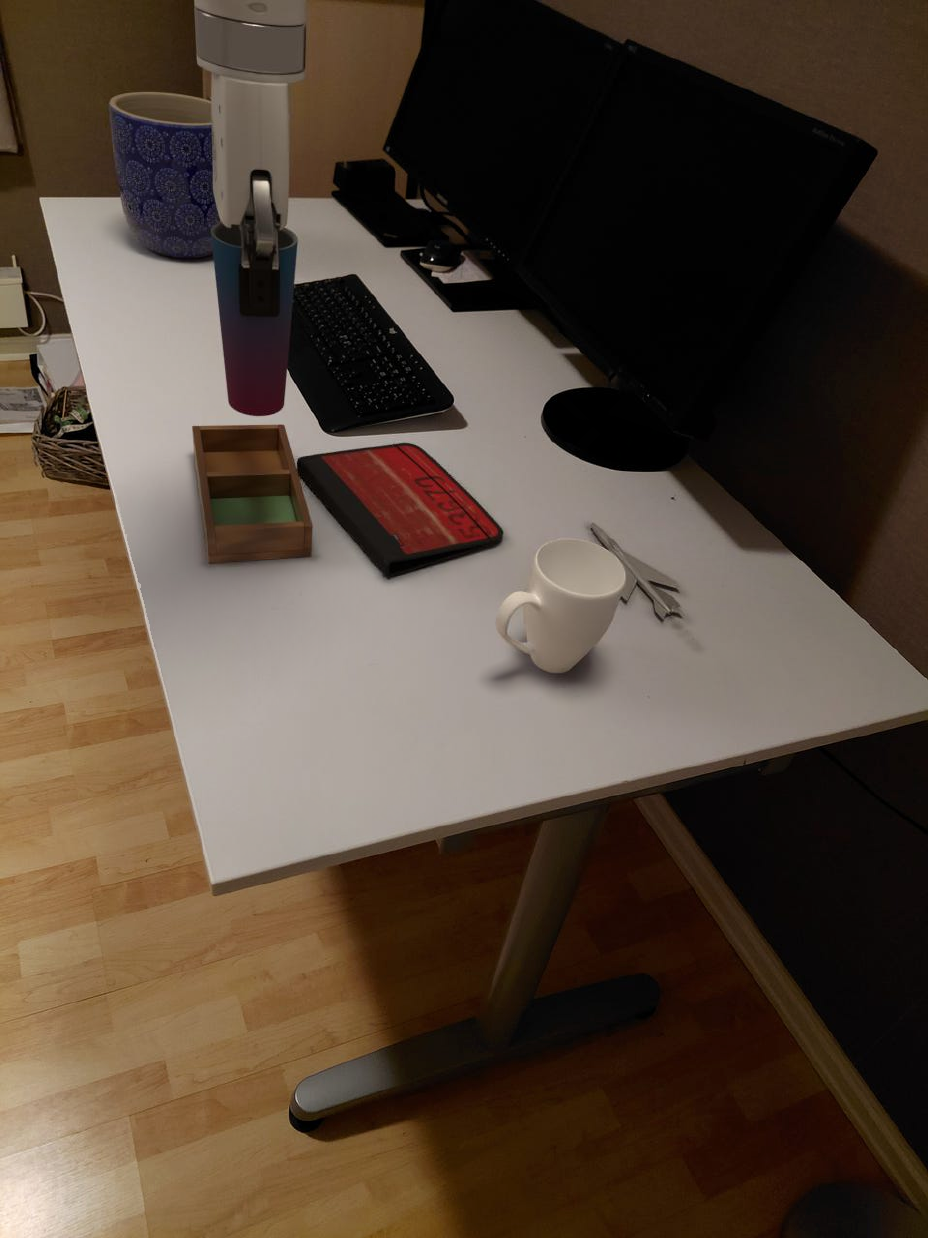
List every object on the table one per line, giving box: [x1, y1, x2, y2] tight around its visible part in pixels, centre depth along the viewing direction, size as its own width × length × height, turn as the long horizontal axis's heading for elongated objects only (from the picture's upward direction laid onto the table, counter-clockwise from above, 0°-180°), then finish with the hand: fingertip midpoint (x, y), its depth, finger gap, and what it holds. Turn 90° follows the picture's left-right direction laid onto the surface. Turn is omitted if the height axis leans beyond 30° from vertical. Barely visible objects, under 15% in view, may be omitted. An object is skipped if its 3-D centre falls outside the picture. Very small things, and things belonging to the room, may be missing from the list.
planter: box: [108, 91, 221, 259], centre depth 135 cm, size 18×18×21 cm
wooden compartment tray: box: [191, 424, 314, 564], centre depth 91 cm, size 10×20×4 cm, turn 17°
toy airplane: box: [590, 522, 699, 646], centre depth 91 cm, size 8×21×2 cm, turn 25°
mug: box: [495, 537, 626, 674], centre depth 77 cm, size 12×8×11 cm
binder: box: [296, 442, 504, 579], centre depth 95 cm, size 16×2×21 cm
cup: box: [211, 220, 299, 417], centre depth 73 cm, size 7×7×15 cm
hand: (254, 295), depth 71 cm, fingers closed on cup, 6 cm apart
